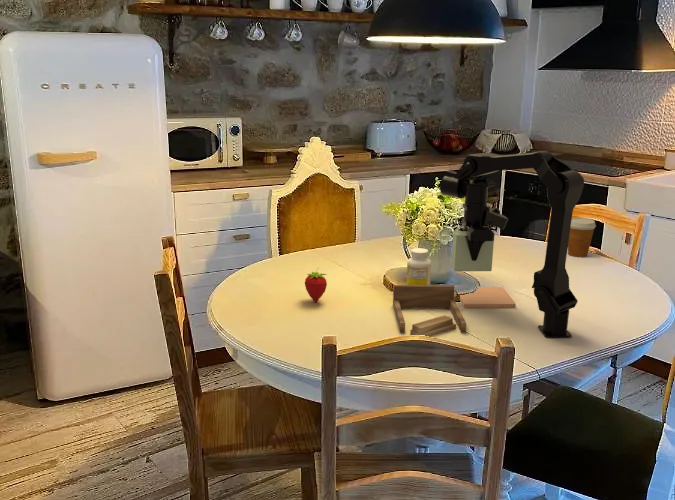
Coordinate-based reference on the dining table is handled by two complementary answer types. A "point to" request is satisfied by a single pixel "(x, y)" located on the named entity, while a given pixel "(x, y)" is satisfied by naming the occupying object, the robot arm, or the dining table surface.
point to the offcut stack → (433, 326)
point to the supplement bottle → (418, 267)
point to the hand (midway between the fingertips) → (472, 258)
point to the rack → (425, 301)
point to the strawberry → (315, 285)
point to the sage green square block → (463, 257)
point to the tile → (488, 298)
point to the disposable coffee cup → (580, 236)
